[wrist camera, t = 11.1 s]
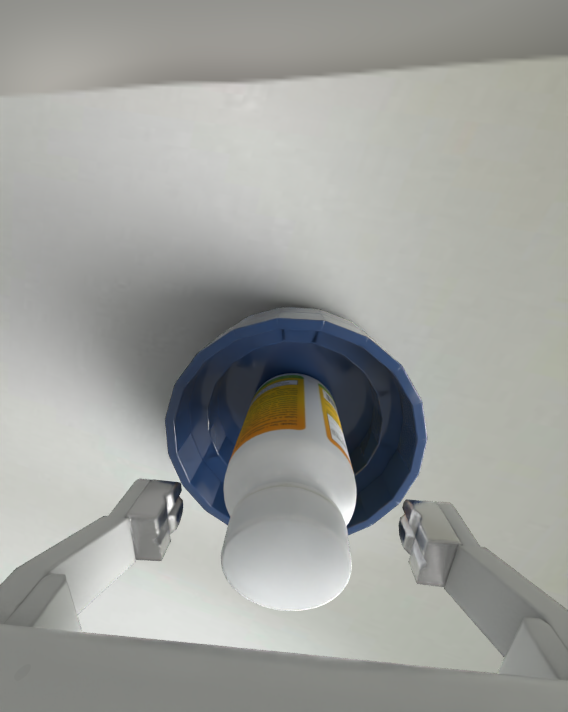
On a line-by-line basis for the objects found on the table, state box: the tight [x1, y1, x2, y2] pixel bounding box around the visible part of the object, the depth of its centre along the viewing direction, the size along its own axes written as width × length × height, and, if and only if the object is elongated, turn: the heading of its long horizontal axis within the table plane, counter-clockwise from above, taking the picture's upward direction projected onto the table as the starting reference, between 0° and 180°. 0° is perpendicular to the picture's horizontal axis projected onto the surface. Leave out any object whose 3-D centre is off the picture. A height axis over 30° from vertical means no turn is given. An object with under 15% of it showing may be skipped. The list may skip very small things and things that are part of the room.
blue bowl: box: [165, 307, 427, 535], centre depth 16 cm, size 13×13×4 cm
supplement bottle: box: [221, 373, 356, 611], centre depth 13 cm, size 5×5×10 cm
